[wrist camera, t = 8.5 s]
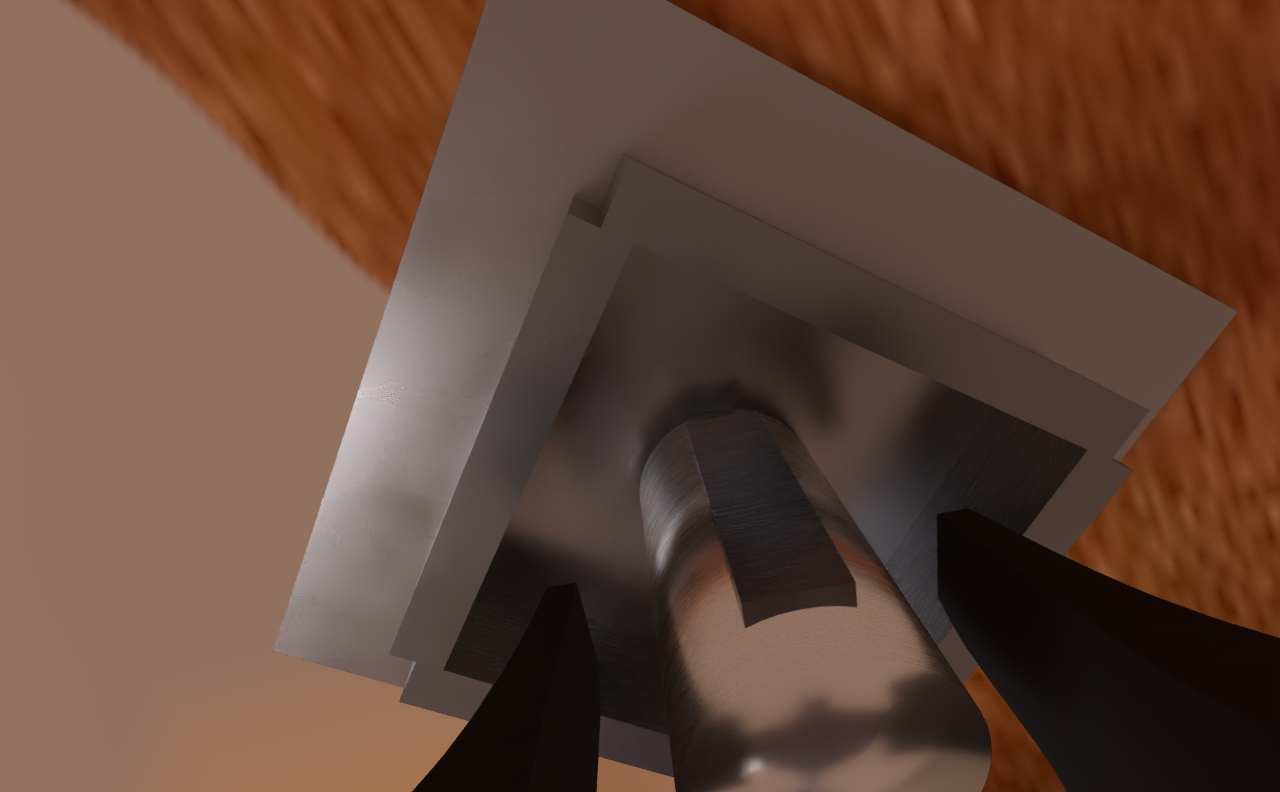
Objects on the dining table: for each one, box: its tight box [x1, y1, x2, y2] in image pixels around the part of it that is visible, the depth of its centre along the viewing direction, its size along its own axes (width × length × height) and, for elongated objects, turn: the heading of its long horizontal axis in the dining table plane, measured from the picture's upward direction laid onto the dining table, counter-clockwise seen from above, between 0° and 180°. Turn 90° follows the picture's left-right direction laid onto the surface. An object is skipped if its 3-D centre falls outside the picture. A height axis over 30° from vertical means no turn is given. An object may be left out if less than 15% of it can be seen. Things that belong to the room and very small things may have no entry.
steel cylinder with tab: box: [639, 409, 992, 792], centre depth 13 cm, size 5×4×8 cm
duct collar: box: [273, 0, 1238, 777], centre depth 15 cm, size 18×18×4 cm
